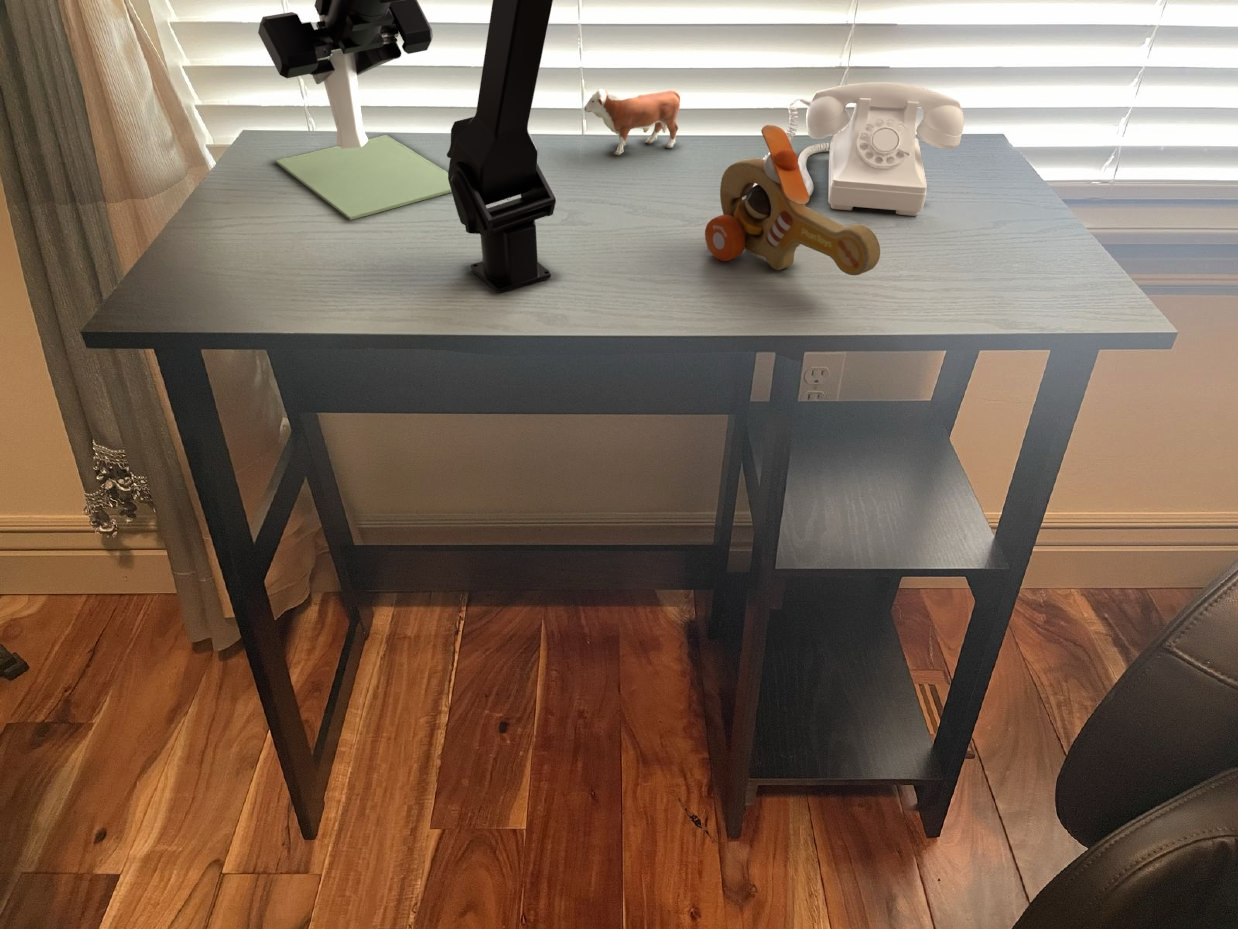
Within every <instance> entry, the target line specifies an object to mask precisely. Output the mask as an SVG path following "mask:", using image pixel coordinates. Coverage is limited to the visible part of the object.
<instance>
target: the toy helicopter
mask: <svg viewBox="0 0 1238 929" xmlns="http://www.w3.org/2000/svg"><path fill="white" fill-rule="evenodd" d="M760 131H761V135H762V138H763V140H764V142H765V144H766V146H767V148H768V150H769V153H770V155H767V156H768V157H767V159H766V160H763V158H759V157H747V158H743V159H740V160H738V161H736V162H734V163H732V164H730V165H729V166H728V167H727V168H726V169H725V170H724V172H723V174H722V176H721V181H720V189H719V197H720V207H721V210H722V214H721V215H719V216H715V217H714V218H711V219H710V220H709V221H708V223H707V224H706V226H705V230H704V239H705V244H706V246H707V249H708V250H709V252H710V254H711V255H712V256H713V257H714V258H715V259H717V260H718V261H721V262H728V261H732V260H733V259H737V258H738V257H739V256H740V255H742V253H743V252H744V250H747V251H748V252H750V253H752V254H754V255H756V256H759V257H762V258H764V259H765V260H766V261H767V262H768V264H769V266H770V267H771V268H772V269H773V270H775V271H781V270H784V269H786V268H788V267H790V266H792V265H793V263H794V260H795V252H796V249H797V248H798V247H799V246H800V245H802V246H804V247H806V248H809V249H811V250H813V251H816V252H819V253H821V254H823V255H825V256H827V257H830V259H832V260H833V262H834V263H835V265H836V266H837V268H838V269H839V270H840V271H842V272H843V273H845V274H846V275H849V276H860V275H862V274H865V273H867V272H869V271H871V270H873V269H874V268H875V267H876V266H877V265H878V263H879V260H880V259H881V258H880V257H881V245H880V242H879V240H878V238H877V235H876V234H875V233H874V231H872V229H870V228H869V227H868V226H866V225H864V224H862V223H853V224H850V225H847V226H846V225H843V224H840V223H839V222H837V221H835V220H833V219H831V218H829V217H827V216H825V215H823V214H821V213H820V212H818V211H815V210H813V209H811V208H809V207H807V205H805V204H808V202H809V201H810V196H809V194H808V191H807V189H806V186H805V183H804V181H803V178H802V174H801V171H800V167H799V164H798V158H799V156H798V155H797V153H796V152H795V150H794V148H793V146H792V144H791V143H790V141H789V139H788V137H789V136H788V135H787V134H786V133H787V132H786V131H785V130H784V129H782V127H780V126H777V125H775V124H767V125H764V126H762V128H761V130H760ZM787 136H788V137H787ZM755 183H756V184H758V185H756V186H754V187H753V185H754V184H755ZM744 197H745V198H744ZM743 198H744V199H743Z"/></svg>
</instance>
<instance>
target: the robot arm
mask: <svg viewBox="0 0 1238 929" xmlns="http://www.w3.org/2000/svg"><path fill="white" fill-rule="evenodd" d="M553 3H554V0H492V4H491V10H490V18H489V23H488V31H487V38H486V44H485V50H484V58H483V63H482V64H483V65H482V71H481V76H480V84H479V91H478V98H477V105H476V111H475V115H474V116H470V117H467V118H464V119H459V120H456V121H454V122H453V124H452V126H451V129H450V145H449V149H448V151H447V152H446V157H447V158H449V162H448V163H449V164H448V171H447V172H448V181H449V184H450V188H451V191H452V192H451V194H452V198H453V201H454V205H455V209H456V213H457V216H458V218H459V221H460V224H461V225H463V226H465V232H466V233H468V234H470V235H471V234H472V235H473V234H474V235H480V245H481V246H480V247H481V256H482V261H478V262H474V263H471V265H470V270H471V271H472V272H473V273H474V274H475V275H476V276H477V277H479V278H480V279H481V280H482V281H483V282H485V283H486V284H487V285H488V286H489V287H490V288H492V289H493V290H494V291H495V292H497V293H503V292H507V291H510V290H515V289H517V288H521V287H524V286H528V285H531V284H534V283H537V282H540V281H544V280H547V279H550V278H551V277H552V272H551V271H550V270H549V269H548V268H546V267H545V266H544V265H543V264H541V263H540V262H539V261H538V241H537V240H538V239H537V225H536V220H539V219H542V218H546V217H551V216H554V212H555V208H556V203H557V200H556V197H555V195H554V193H553V190H552V189H551V187H550V185H549V183H548V181H547V179H546V177H545V175H544V173H543V171H542V170H541V167H540V166H539V164H538V155H539V150H538V147H537V145H536V144H535V141H534V139H533V137H532V135H531V133H530V131H529V121H530V117H531V110H532V106H533V101H534V97H535V92H536V86H537V81H538V78H539V77H538V76H539V71H540V66H541V62H542V56H543V53H544V52H543V51H544V47H545V42H546V39H547V38H546V37H547V32H548V27H549V23H550V18H551V17H550V16H551V13H552V8H553ZM314 8H315V10H316V13H317V12H318V14H319V15H318V14H317V15H318V17H319V16H321V15H324V17H325V20H324V21H320V20H319V21H317V22H316V23H315V27H316V28H314V25H313V24H312V22H311V21H308V22H302V20H301V18H300V16H299V14H298V13H295V12H293V11H290V12H283V13H278V14H272V15H264V16H262V18H261V20H260V23H259V26H258V32H257V34H258V36H259V38H260V40H261V41H262V43H263V46H264V48H265V49H266V51H267V53H268V55H269V57H270V59H271V61H272V63H273V65H274V67H275V69H276V70H277V72H278V74H279V75H280V76H281V77H283V78H285V79H291V78H296V77H301V76H307V75H311V76H312V79H314V82H315V84H316V85H320V84H322V83H324V80H325V79H326V78H327V77H328V76H330V75H331V74H332V73H333V72H334V71H335V69H334V67H333V65H332V63H331V61H330V59H329V58H330V57H331V54H332V52H334V51H339V50H342V52H343V54H348V53H353V52H354V56H355V64H356V73H357V77H358V76H359V75H362V74H364V73H366V72H368V71H371V70H372V69H375V68H377V67H379V66H382V65H384V64H387V63H389V62H391V61H393V60H397V59H400V58H401V56H402V51H403V52H405V53H406V54H407V55H410V54H415V53H420V52H425V51H428V49H429V47H430V45H431V43H432V41H433V37H434V35H433V29H432V26H431V25H430V23H429V21H428V19H427V16H426V15H425V13H424V11H423V9H422V7H421V5H420V3H419V1H418V0H315V2H314ZM399 36H400V37H401V39H402V42H403V43H402V45H401V48H402V50H401V48H400V47H399V45H398V37H399ZM517 196H520V197H519V198H515V199H512V200H509V201H505V202H503V203H502V202H501V201H504V200H507V199H510V198H513V197H517ZM498 202H501V203H500V204H497V205H493V206H490V207H487V206H488V205H492V204H496V203H498Z"/></svg>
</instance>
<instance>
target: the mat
mask: <svg viewBox="0 0 1238 929" xmlns="http://www.w3.org/2000/svg"><path fill="white" fill-rule="evenodd" d="M275 162H276V164H277V165H278V166H279V167H281V168H282V169H283V170H285V171H286V172H287V173H289V174H290V175H291V176H292V177H294V178H295V179H297V181H299V182H300V183H301V184H303V185H304V186H305V187H307V188H308V189H309V190H311V191H312V192H314V193H315V194H316V195H317V196H318V197H320V198H321V199H322V200H324V201H325V202H326V203H328V204H329V205H330V206H331V207H333V208H334V209H336V210H337V211H338V212H339V213H340V214H342V215H343V216H344V217H345V218H347V219H348V220H350V221H353V220H356V219H360V218H364V217H368V216H371V215H375V214H378V213H382V212H385V211H389V210H392V209H396V208H399V207H403V206H408V205H410V204H415V203H418V202H422V201H425V200H429V199H433V198H436V197H440V196H444V195H447V194H452V191H451V188H450V184H449V181H448V171H446V170H444V168H441V167H440V166H438V165H436V164H435V163H434V162H432V161H430V160H428V159H427V158H425V157H423V156H422V155H420V154H418V153H417V152H416V151H413V150H412V149H410V148H409V147H407V146H406V145H404V144H402V143H400V142H399V141H397V140H396V139H394V138H392V137H390V136H389V135H388V134H384V135H380V136H375V137H372V138H368V141H367V142H366V143H365V144H364V145H363V146H362V147H356V148H340V146H339V145H336V146H332V147H327V148H323V149H319V150H315V151H311V152H307V153H302V154H298V155H292V156H289V157H284V158H281V159H277V160H275Z"/></svg>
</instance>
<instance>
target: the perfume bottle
mask: <svg viewBox="0 0 1238 929" xmlns="http://www.w3.org/2000/svg"><path fill="white" fill-rule="evenodd" d="M316 14H317V15H318V18H319V21H324V20H325V17H324V15H321V16H319V14H318V12H317V11H316ZM329 59H330V61H331V63H332V65H333V67H334V69H335V71H334V72H333V73H332V74H331V75H330V76H328V77H327V78H326V79H325V80H324V81H323V84H324V88H325V91H326V95H327V98H328V102H329V106H330V109H331V110H330V111H331V113H332V117H333V121H334V124H335V128H336V144H337V146H340V148H356V147H362V146H363V145H364V144H365V143H366V142H367V141H368V139H369V138H368V136H367V134H366V132H365V129H364V126H363V116H362V110H361V109H362V108H361V98H360V91H359V83H358V76H357V73H356V64H355V56H354V52H353V53H348V54H343V52H342V50H339V51H334V52H332V54H331V57H330V58H329Z"/></svg>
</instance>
